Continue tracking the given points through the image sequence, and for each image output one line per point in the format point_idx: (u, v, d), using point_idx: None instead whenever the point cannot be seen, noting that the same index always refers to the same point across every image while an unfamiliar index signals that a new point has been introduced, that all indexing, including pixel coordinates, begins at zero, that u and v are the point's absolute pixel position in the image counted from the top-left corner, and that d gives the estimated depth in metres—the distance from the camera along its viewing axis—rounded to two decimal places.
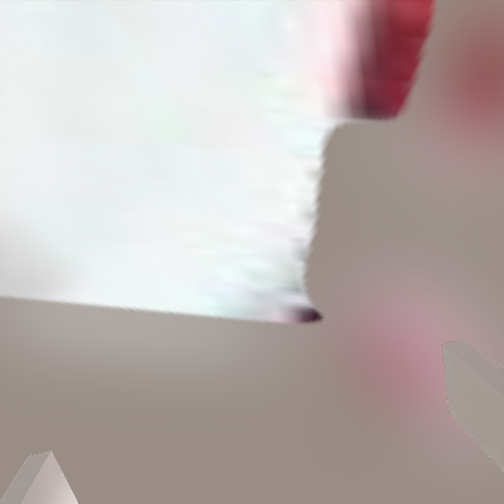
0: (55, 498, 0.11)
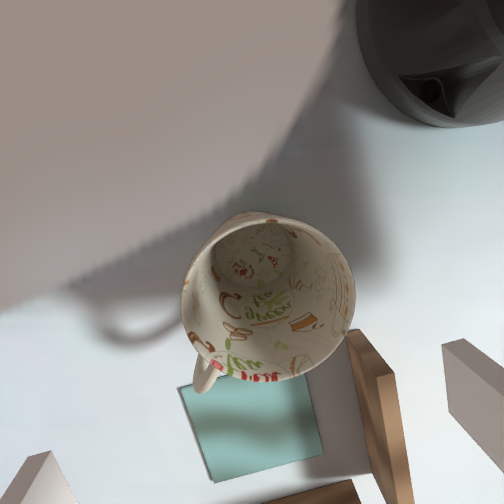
0: (55, 498, 0.11)
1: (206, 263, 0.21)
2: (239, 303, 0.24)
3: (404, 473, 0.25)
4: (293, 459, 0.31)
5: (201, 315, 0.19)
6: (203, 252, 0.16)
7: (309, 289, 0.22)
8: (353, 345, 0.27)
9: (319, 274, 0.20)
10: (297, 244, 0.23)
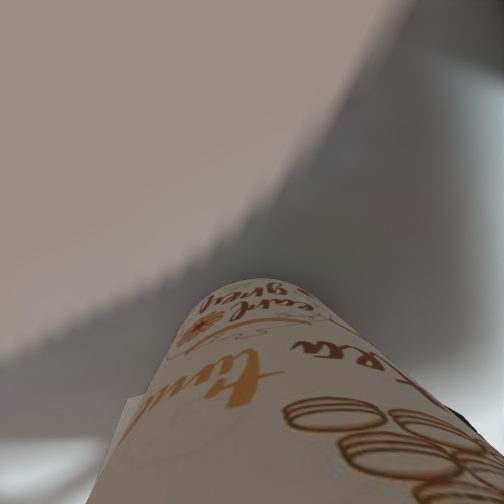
0: None
1: None
2: None
3: None
4: None
5: None
6: None
7: None
8: None
9: None
10: None
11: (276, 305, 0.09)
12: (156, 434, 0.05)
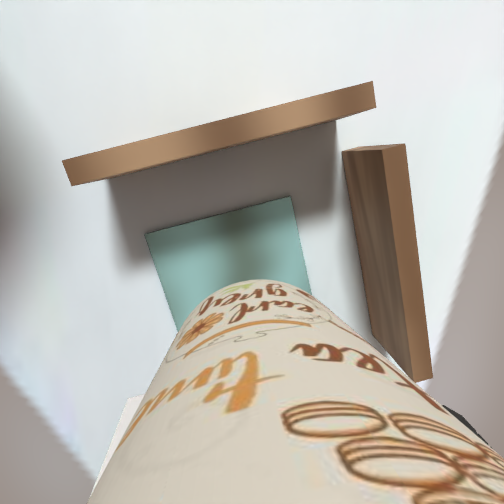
0: None
1: None
2: None
3: (240, 124, 0.17)
4: (294, 235, 0.24)
5: None
6: None
7: None
8: (102, 179, 0.21)
9: None
10: None
11: (276, 307, 0.09)
12: (154, 439, 0.05)
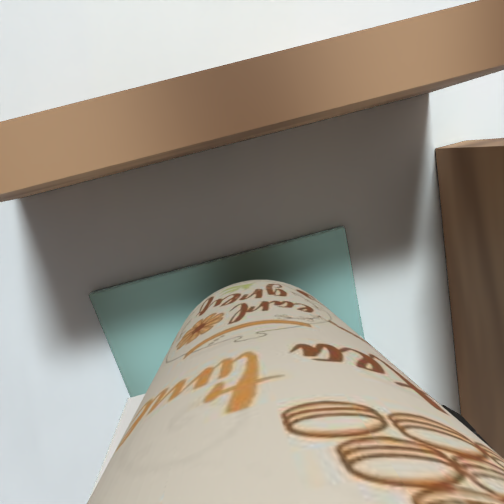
0: None
1: None
2: None
3: (273, 76, 0.07)
4: (349, 293, 0.14)
5: None
6: None
7: None
8: None
9: None
10: None
11: (276, 307, 0.09)
12: (155, 439, 0.05)
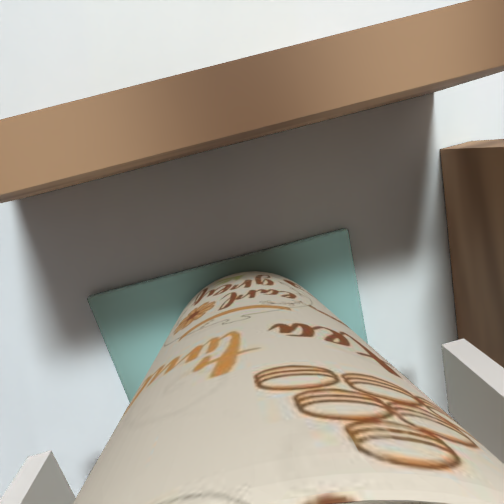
0: (55, 498, 0.11)
1: None
2: None
3: (276, 74, 0.06)
4: (352, 296, 0.14)
5: None
6: None
7: None
8: None
9: None
10: None
11: (261, 294, 0.10)
12: (152, 402, 0.06)
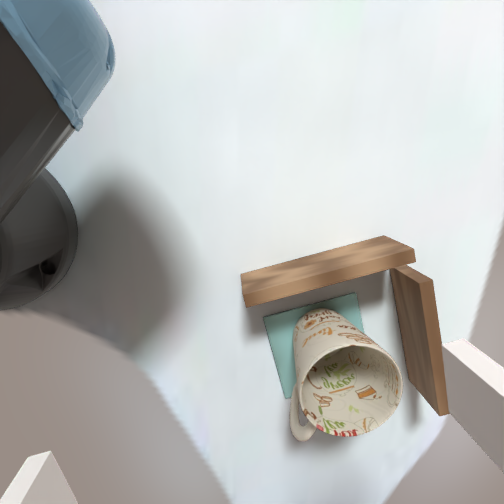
0: (55, 498, 0.11)
1: None
2: (317, 375, 0.35)
3: (339, 273, 0.30)
4: (358, 317, 0.37)
5: (304, 394, 0.30)
6: (313, 365, 0.27)
7: (366, 368, 0.33)
8: None
9: (374, 360, 0.32)
10: None
11: (330, 317, 0.33)
12: (315, 340, 0.29)
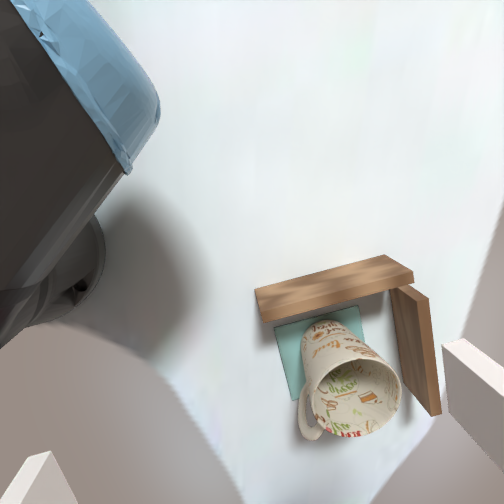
0: (55, 498, 0.11)
1: None
2: (323, 380, 0.39)
3: (347, 292, 0.33)
4: (359, 327, 0.41)
5: (314, 399, 0.34)
6: (324, 376, 0.31)
7: (368, 375, 0.37)
8: None
9: (375, 369, 0.35)
10: None
11: (336, 329, 0.37)
12: (325, 352, 0.33)
